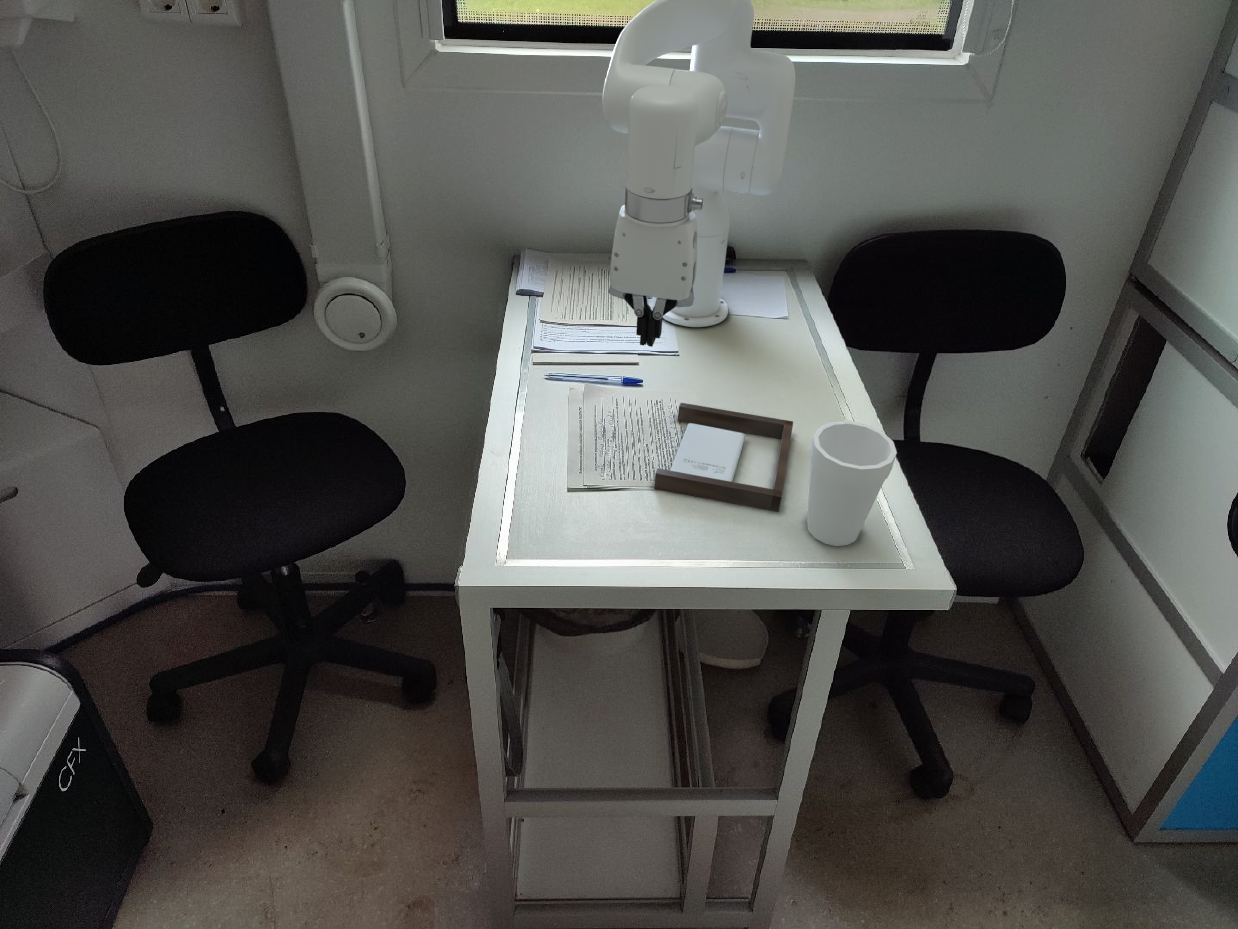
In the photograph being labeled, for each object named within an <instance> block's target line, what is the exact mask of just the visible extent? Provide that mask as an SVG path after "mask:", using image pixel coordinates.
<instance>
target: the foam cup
mask: <svg viewBox="0 0 1238 929" xmlns="http://www.w3.org/2000/svg"><path fill="white" fill-rule="evenodd" d="M897 454H898V452H897V448H896V446H895V442H894V441H893V440H892V439H891V438H890V437H889V436H888V435H886V434H885V432H883V431H882V430H881V429H878V428H875V427H873V426H872V425H869V424H866V423H863V422H856V421H852V420H839V421H838V420H837V421H830V422H828V423H825V424H824V425H821V426H819V427H818V428H817V430H816V431H815V432H814V434H813V435H812V439H811V444H810V448H809V458H810V464H809V465H810V468H809V483H808V498H807V499H808V500H807V516H806V520H807V521H806V524H807V525H806V526H807V530H808V532H809V533H810V534H811V536H812V537H813V538H814V539H816V540H817V541H819V542H821V543H823V544H824V545H825V544H826V545H829V546H834V547H840V546H842V547H843V546H849V545H851V544H853V543H855V542H856V540H857V539H858V537H859V534H860V533H861V530H862V529H863V526H864V524H865V523H866V520H867V519H868V516H869V513H870V511H871V509H872V508H873V506H874V504H875V502H876V499H877V498H878V495H879V494H880V491H881V489H882V487H883V484H884V482H885V481H886V480H887V479H888V478H889V476H890V474H891V471H892V470H893V467H894V463H895V460H896V457H897Z"/></svg>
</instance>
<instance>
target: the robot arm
mask: <svg viewBox="0 0 1238 929" xmlns="http://www.w3.org/2000/svg"><path fill="white" fill-rule="evenodd" d="M754 20H755V10H754V7H753V4H752V1H751V0H654V1H653V2H651V3H650V4H649V5H647V6H646V7H645V8H643V9H642V10H641V11H640V12H639V13H638V14H636V15H635V16H634V17H633V18H632V19H631V20H630V21H629V22H628V23H627V24H626V25H625V27H624V28H623V29H622V30H621V32H620V33H619V35H618V38H617V40H616V43H615V45H614V48H613V51H612V54H611V59H610V62H609V65H608V69H607V73H606V77H605V80H604V84H603V91H602V97H601V98H602V99H601V107H602V108H601V109H602V114H603V117H604V120H605V122H606V124H607V125H608V127H609V128H610V129H612V130H613V131H616V132H617V133H621V134H626V135H627V143H626V144H627V146H626V170H625V171H626V175H625V190H624V192H625V193H624V204H623V205H621V207H620V209H619V212H618V216H617V220H616V224H615V229H614V235H613V242H612V250H611V256H610V267H609V282H610V283H609V284H610V285H609V288H608V294H609V295H611V296H613V297H615V298H617V299H620V300H624V301H625V302H626V304H628V306H629V307H631V309H632V311H633V312H634V313H633V314H634V315H635V316H636V334H635V335H636V336H640V337H639V345H640V346H647V347H650V348H652V347H653V346H654V344H655V342H656V339H660V338H661V337H662V330H663V319H664V320H665V321H666V322H667V321H668V322H669V323H672V324H674V325H677V326H682V327H687V328H688V327H689V328H705V327H707V328H708V327H712V326H715V325H717V324H720V323H721V322H723V321H724V320H726V318H727V317H728V315H729V306H728V303H727V302H726V301H725V300H724V299H723V298H721V297H722V290H723V281H724V273H725V265H726V257H727V248H728V242H729V233H730V226H731V214H730V213H731V212H730V209H729V207H728V204H727V202H726V200H725V198H724V196H723V195H722V193H721V192H723V193H724V192H725V193H726V192H727V193H728V192H729V193H734V194H743V195H751V196H768V195H770V194H773V193H774V192H775V191H776V190H777V189H778V186H779V185H780V182H781V178H782V175H783V170H784V165H785V158H786V151H787V146H788V139H789V132H790V125H791V120H792V119H791V118H792V112H793V106H794V99H795V92H796V91H795V90H796V68H795V65H794V62H793V61H792V59H791V58H790V57H788V56H787V55H785V54H783V53H780V52H779V53H778V52H774V51H773V52H772V51H764V50H763V51H762V50H754V49H752V47H751V43H752V34H753V28H754ZM690 47H692V48H691V58H690V66H689V67H690V68H689V70H687V69H686V70H685V69H677V68H673V67H663V66H654V65H648V64H649V63H650V62H652V61H654V60H655V59H658V58H660V57H662V56H664V55H667V54H670V53H673V52H678V51H681V50H684V49H688V48H690ZM726 118H730V119H731V118H732V119H739V120H746V121H747V120H749V121H754V122H755V123H756V124H757V125H758V127H759V129H752V128H751V129H750V128H742V127H734V126H728V125H723V124H724V122H725V119H726ZM649 297H650V298H656V300H655V304H654V306H653V308H652V309H651V306H650V305H649Z"/></svg>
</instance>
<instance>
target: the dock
mask: <svg viewBox="0 0 1238 929" xmlns="http://www.w3.org/2000/svg"><path fill="white" fill-rule="evenodd" d="M677 422H681V423H688V424H690V423H692V424H698V425H703V426H708V427H713V428H718V429H723V430H728V431H734V432H739V433H745V434H752V435H757V436H763V437H768V438H769V437H770V438H776V439H780V444H779V450H778V457H777V463H776V469H775V474H774V481H773V488H767V487H763V486H757V485H753V484H752V485H751V484H746V483H741V482H736V481H732V482H730V481H725V480H719V479H714V478H708V477H703V476H697V475H692V474H686V473H681V472H675V471H670V469H663V468H658V467H657V468H656V470H655V473H654V485H653V486H654V487H653V489H654V490H660V491H666V492H671V493H676V494H681V495H688V496H693V497H698V498H703V499H709V500H714V501H719V502H725V503H729V504H735V505H740V506H746V507H750V508H751V507H752V508H756V509H761V510H768V511H773V512H780V509H781V505H782V504H781V503H782V498H783V492H784V486H785V480H786V472H787V466H788V460H789V452H790V447H791V440H792V434H793V433H792V432H793V427H794V421H792V420H789V419H788V420H787V419H782V418H781V419H780V418H775V417H769V416H764V415H763V416H762V415H757V414H753V413H745V412H741V411H740V412H739V411H733V410H727V409H721V408H717V407H709V406H705V405H704V406H703V405H697V404H692V403H687V402H679V405H678V413H677Z"/></svg>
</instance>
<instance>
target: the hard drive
mask: <svg viewBox="0 0 1238 929" xmlns="http://www.w3.org/2000/svg"><path fill="white" fill-rule="evenodd" d="M685 428H686V429H685V431H684V434H683V437H682V439H681V441H680V444H679V447H678V449H677V452H676V454H675V457H674V459H673V461H672V464H671V467H670V469H669V470H670V471H675V472H681V473H686V474H692V475H697V476H703V477H708V478H714V479H719V480H725V481H730V482H734V477H735V475H736V471H737V468H738V465H739V461H740V457H741V453H742V450H743V447H744V444H745V439H746V435H745V434H746V433H745V434H744V432H740V431H734V430H728V429H722V428H716V427H711V426H705V425H699V424H693V423H688V424H687V426H686V427H685Z"/></svg>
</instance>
